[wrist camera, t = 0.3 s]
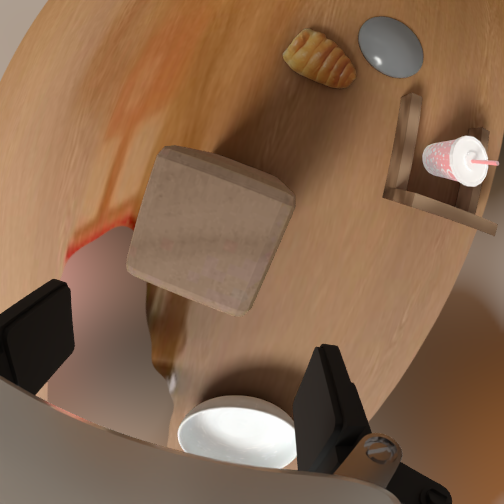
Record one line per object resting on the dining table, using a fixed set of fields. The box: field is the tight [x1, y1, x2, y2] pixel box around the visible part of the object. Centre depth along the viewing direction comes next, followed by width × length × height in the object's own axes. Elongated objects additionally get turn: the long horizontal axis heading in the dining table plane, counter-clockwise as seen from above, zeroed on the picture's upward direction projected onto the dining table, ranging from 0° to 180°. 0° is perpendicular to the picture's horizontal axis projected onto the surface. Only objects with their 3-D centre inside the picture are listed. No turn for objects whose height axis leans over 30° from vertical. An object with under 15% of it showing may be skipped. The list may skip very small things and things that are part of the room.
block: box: [126, 145, 295, 317], centre depth 29 cm, size 10×10×20 cm
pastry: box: [283, 29, 356, 89], centre depth 32 cm, size 9×7×4 cm
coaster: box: [358, 17, 423, 78], centre depth 31 cm, size 10×10×1 cm
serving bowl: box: [178, 395, 297, 469], centre depth 47 cm, size 21×21×7 cm
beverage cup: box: [422, 136, 499, 187], centre depth 29 cm, size 6×6×14 cm
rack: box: [383, 93, 498, 236], centre depth 32 cm, size 15×14×9 cm
